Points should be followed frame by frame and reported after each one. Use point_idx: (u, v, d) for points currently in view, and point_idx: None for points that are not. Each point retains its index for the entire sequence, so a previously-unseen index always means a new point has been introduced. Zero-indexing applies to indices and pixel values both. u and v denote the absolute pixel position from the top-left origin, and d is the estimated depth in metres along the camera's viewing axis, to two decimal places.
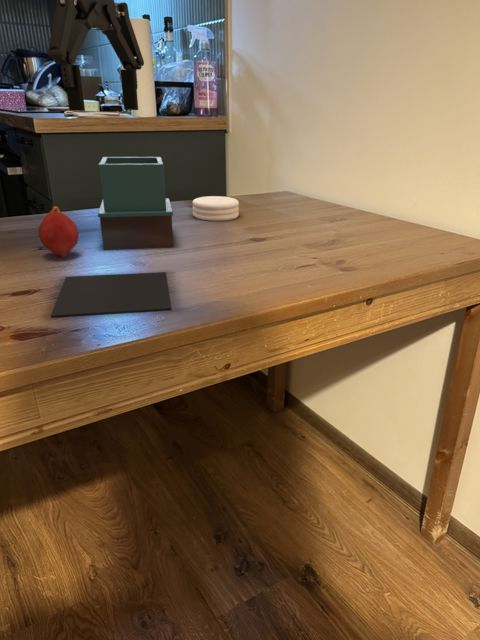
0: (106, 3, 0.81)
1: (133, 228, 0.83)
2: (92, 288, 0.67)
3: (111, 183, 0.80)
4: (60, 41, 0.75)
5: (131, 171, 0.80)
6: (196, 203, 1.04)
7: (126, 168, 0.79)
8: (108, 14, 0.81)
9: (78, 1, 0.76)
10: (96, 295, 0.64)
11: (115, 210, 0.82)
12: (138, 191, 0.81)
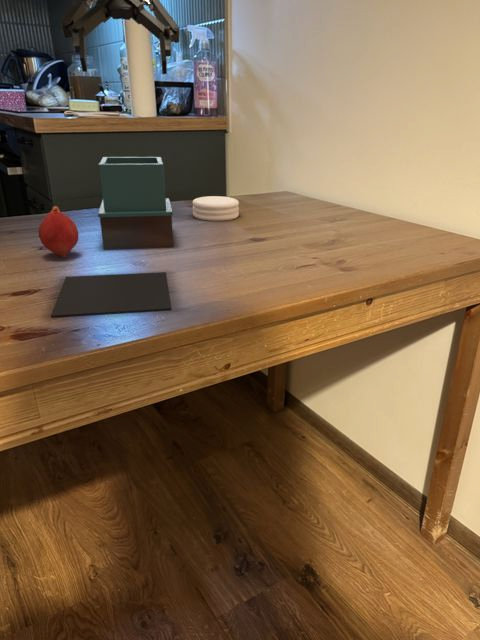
0: None
1: (133, 228, 0.83)
2: (92, 288, 0.67)
3: (111, 183, 0.80)
4: None
5: (131, 171, 0.80)
6: (196, 203, 1.04)
7: (126, 168, 0.79)
8: None
9: None
10: (96, 295, 0.64)
11: (115, 210, 0.82)
12: (138, 191, 0.81)
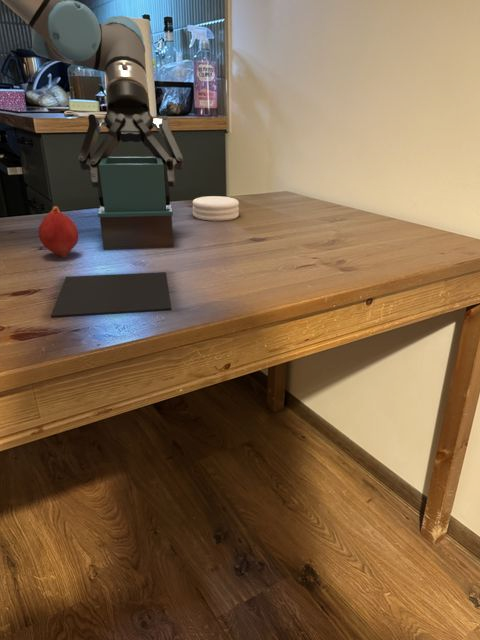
0: None
1: (133, 228, 0.83)
2: (92, 288, 0.67)
3: (111, 183, 0.80)
4: (81, 150, 0.84)
5: (131, 171, 0.80)
6: (196, 203, 1.04)
7: (126, 168, 0.79)
8: (134, 120, 0.87)
9: (105, 121, 0.87)
10: (96, 295, 0.64)
11: (115, 210, 0.82)
12: (138, 191, 0.81)
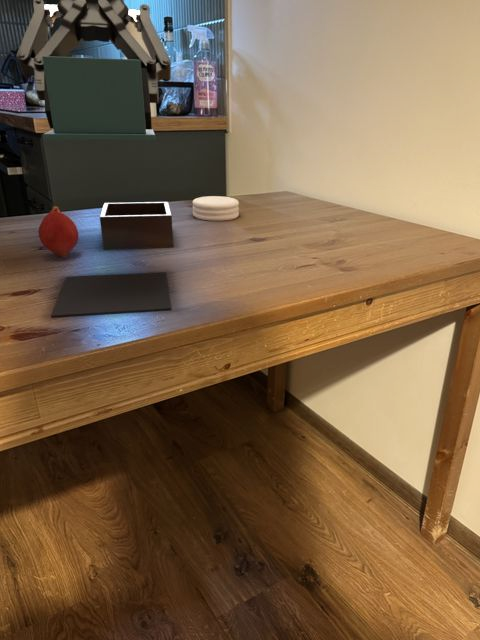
0: None
1: (133, 228, 0.83)
2: (92, 288, 0.67)
3: (62, 87, 0.53)
4: None
5: (92, 68, 0.53)
6: (196, 203, 1.04)
7: (84, 64, 0.53)
8: (101, 8, 0.60)
9: (58, 9, 0.60)
10: (96, 295, 0.64)
11: (70, 131, 0.55)
12: (104, 101, 0.55)
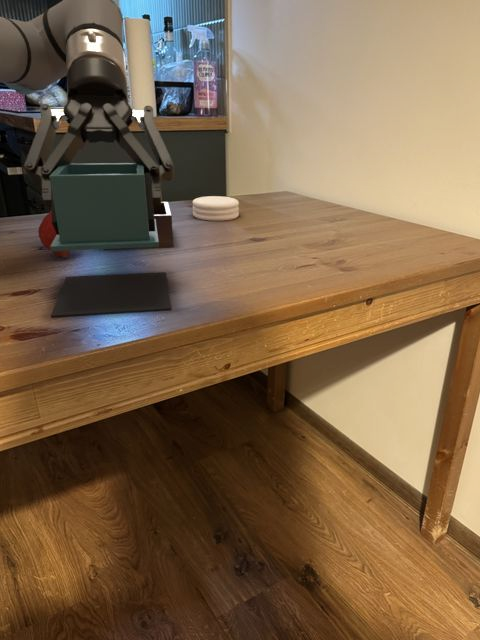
0: None
1: None
2: (92, 288, 0.67)
3: (69, 202, 0.55)
4: None
5: (98, 184, 0.55)
6: (196, 203, 1.04)
7: (90, 181, 0.55)
8: (106, 113, 0.62)
9: (64, 113, 0.62)
10: (96, 295, 0.64)
11: (76, 240, 0.57)
12: (108, 213, 0.56)
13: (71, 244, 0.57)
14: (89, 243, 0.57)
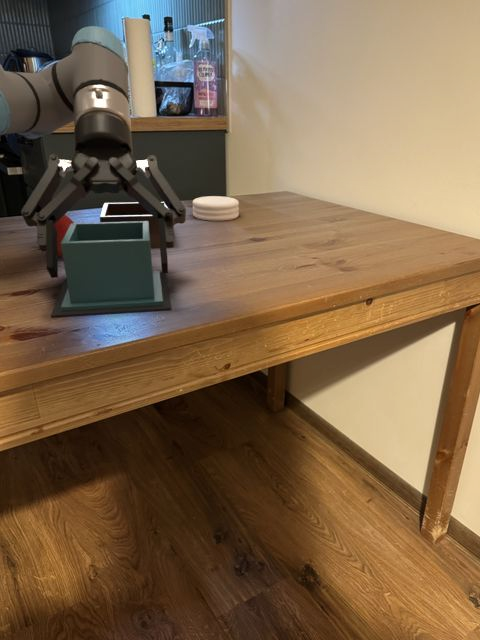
0: None
1: None
2: None
3: (79, 267, 0.58)
4: None
5: (106, 250, 0.58)
6: (196, 203, 1.04)
7: (99, 247, 0.58)
8: (112, 167, 0.65)
9: (71, 165, 0.65)
10: None
11: (85, 300, 0.60)
12: (116, 275, 0.60)
13: (80, 304, 0.60)
14: (97, 303, 0.60)
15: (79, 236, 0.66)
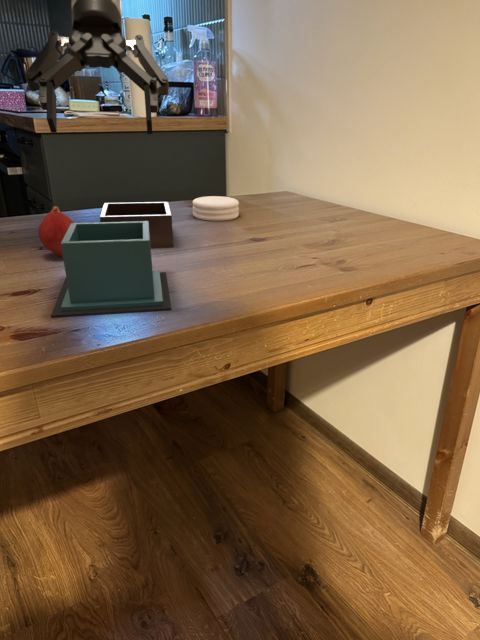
0: None
1: None
2: None
3: (79, 267, 0.58)
4: None
5: (106, 250, 0.58)
6: (196, 203, 1.04)
7: (99, 247, 0.58)
8: (104, 41, 0.75)
9: (69, 41, 0.75)
10: None
11: (85, 300, 0.60)
12: (116, 275, 0.60)
13: (80, 304, 0.60)
14: (97, 303, 0.60)
15: (79, 236, 0.66)
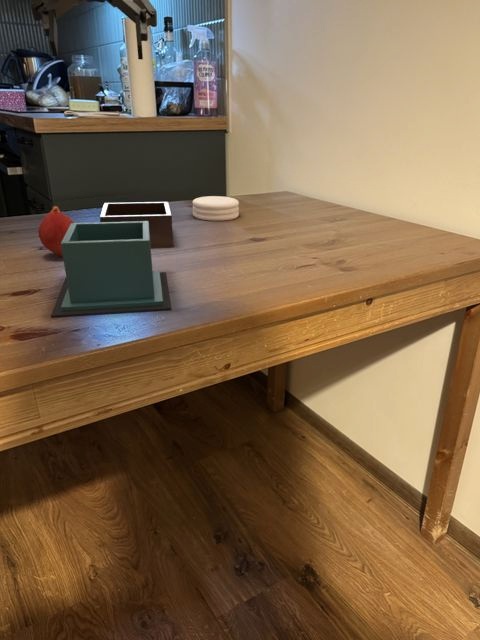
0: None
1: None
2: None
3: (79, 267, 0.58)
4: None
5: (106, 250, 0.58)
6: (196, 203, 1.04)
7: (99, 247, 0.58)
8: None
9: None
10: None
11: (85, 300, 0.60)
12: (116, 275, 0.60)
13: (80, 304, 0.60)
14: (97, 303, 0.60)
15: (79, 236, 0.66)
